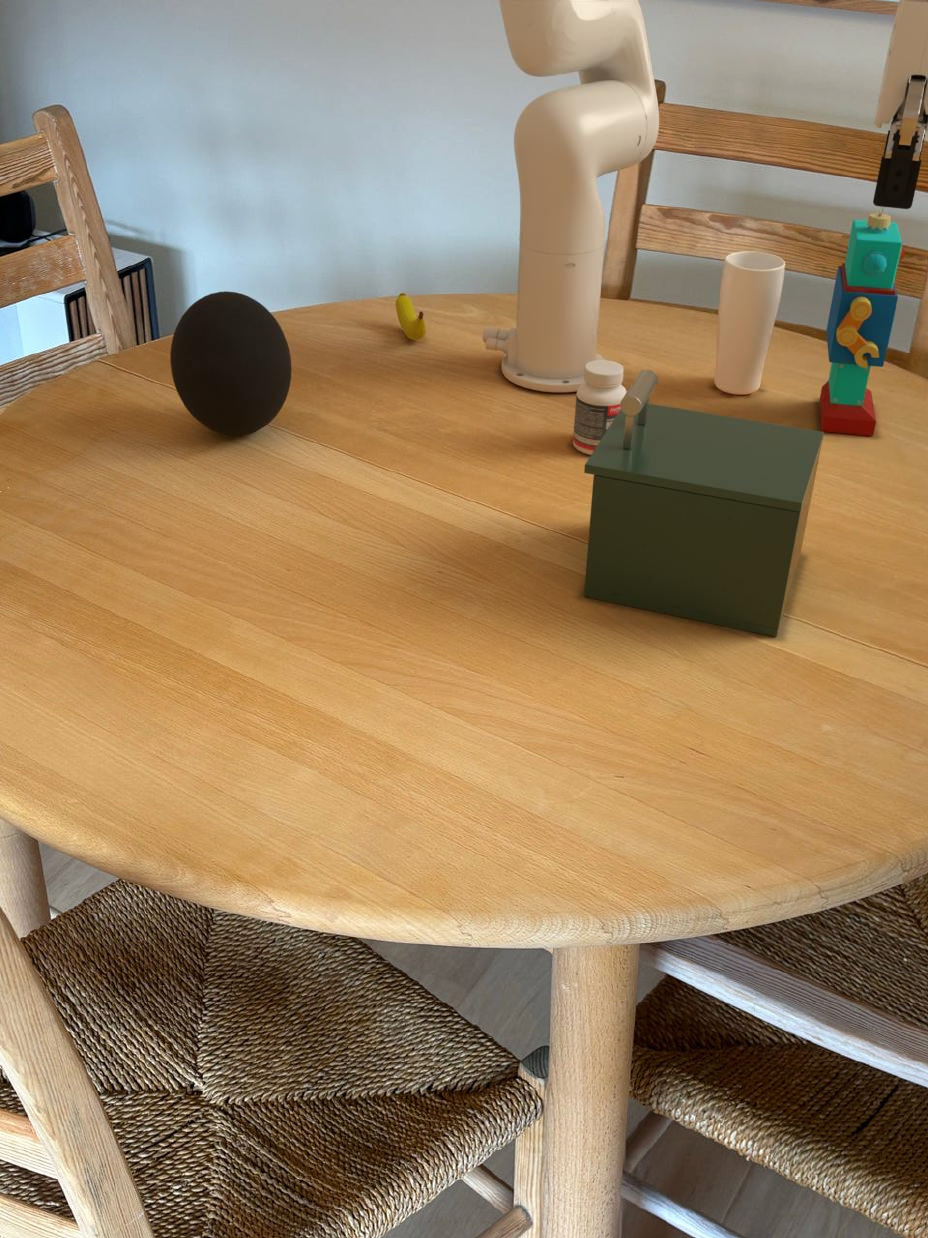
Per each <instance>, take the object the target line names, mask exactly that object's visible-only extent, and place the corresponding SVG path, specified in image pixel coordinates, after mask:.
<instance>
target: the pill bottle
mask: <svg viewBox="0 0 928 1238" xmlns="http://www.w3.org/2000/svg"><path fill="white" fill-rule="evenodd" d="M624 371H625V370H624V366H623V365H622V364H621V363H620V362H616V361H613V360H609V359H608V360H607V359H605V360H595V361H591V362H588V363H587V364H586V365H585V369H584V380H585V382H584V383H582V384H581V385H580V386H579V388H578V390H577V391H576V394H575V408H574V409H575V410H574V420H573V421H574V423H573V432H572V433H573V434H572V445H573V447H574V448H575V449H576V450H577V451H579V452H581V453H583V454H586V455H589V456H591V454H592V453H593V451H594V450H595V448H596V447H597V445H598V444H599V442H600V440H601V439H602V437H603V436H604V434H605V433H606V431H607V430H608V428H609V426H610V425H611V423H612V422H613V420H614V419H615V417H616V416H617V414H618V412H619V411H620V409H621V408H620V403H621V400H622V399H623V397H624V396H625V394H626V393H627V391H628V390H627V389H626V388H625V387H624V385H623V384H622V383H623V382H624V381H623V380H624Z"/></svg>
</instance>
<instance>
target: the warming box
mask: <svg viewBox="0 0 928 1238" xmlns="http://www.w3.org/2000/svg"><path fill="white" fill-rule="evenodd" d="M822 445H823V442H822V443H821V447H820V450H819V453H818V456H817V460H816V463H815V466H814V469H813V473H812V476H811V479H810V482H809V486H808V489H807V492H806V496H805V499H804V502H803V505H802V509H801V512H797V511H792V510H786V509H781V508H775V507H770V506H764V505H759V504H753V503H748V502H742V501H737V500H731V499H726V498H720V497H715V496H709V495H703V494H698V493H692V492H687V491H681V490H676V489H670V488H665V487H659V486H654V485H648V484H643V483H637V482H632V481H626V480H621V479H615V478H610V477H604V476H599V475H593V479H592V480H593V481H592V490H591V491H592V492H591V504H590V516H589V528H588V540H587V541H588V542H587V553H586V565H585V577H584V589H583V597H584V598H589V599H594V600H597V601H598V600H599V601H603V602H607V603H608V602H609V603H613V604H617V605H622V606H627V607H632V608H636V609H642V610H644V611H645V610H646V611H650V612H656V613H660V614H666V615H669V616H675V617H680V618H683V619H687V620H688V619H689V620H692V621H693V620H694V621H698V622H703V623H708V624H713V625H717V626H722V627H727V628H732V629H736V630H742V631H745V632H751V633H756V634H761V635H765V636H769V637H773V638H774V637H775V638H777V637H778V634H779V631H780V627H781V625H782V621H783V618H784V617H783V616H784V614H785V610H786V606H787V603H788V599H789V597H790V596H789V595H790V593H791V590H792V587H793V586H792V585H793V584H794V583H793V582H794V579H795V576H796V572H797V568H798V565H799V562H800V559H801V554H802V547H803V544H804V543H803V542H804V538H805V532H806V529H807V528H806V527H807V523H808V516H809V512H810V506H811V501H812V497H813V491H814V485H815V480H816V477H817V472H818V471H817V470H818V465H819V461H820V455H821V451H822Z"/></svg>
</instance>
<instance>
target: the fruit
mask: <svg viewBox="0 0 928 1238" xmlns="http://www.w3.org/2000/svg"><path fill="white" fill-rule="evenodd" d="M395 311H396V315H397V319H398V322H399V325H400V327H401V330H402V331H403V333H404V335H405V337H406V338H408V339H409V340H411V341H418V340H422V339H423V338H424V337H425V336H426V333H427V326H426V322H425V320H424V311H419V313H418V316H416V312H415V310H414V306H413V302H412V299H411V298H410V297H409V296H408V295H407V294H406V293H404V292H401V293H399V295H398V296H397V298H396V300H395Z"/></svg>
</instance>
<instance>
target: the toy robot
mask: <svg viewBox="0 0 928 1238" xmlns="http://www.w3.org/2000/svg"><path fill="white" fill-rule="evenodd" d="M884 210H885V207H881V206H879V212H872V213H870V214H869V215H868V219H867V220H865V219H864V220H862V219H853V220H852V224H851V229H850V235H849V240H848V245H847V251H846V255H845V262H843V263H841V265H838V266H837V270H836V271H837V272H836V277H835V281H834V287H833V292H832V296H831V297H832V298H831V302H830V303H831V304H830V308H829V313H828V319H827V324H826V331H825V332H826V333H825V334H826V345H827V352H828V353H827V355H828V363H831V364H830V370H829V375H828V380H827V381H826V382H825V384H823V385H822V386H821V390H820V394H819V395H820V396H819V411H820V413H819V415H820V425H821V432H824V433H835V434H846V435H855V436H856V435H857V436H867V437H873V436H874V435H875V429H876V425H877V418H876V413H875V406H874V400H873V394H872V393H873V392H872V391H871V390H870V389H868V388H867V386H868V380H869V376H870V371H871V367H878V368H883V367H884V365H885V359H886V354H887V350H888V348H889V344H890V339H891V335H892V330H893V325H894V321H895V315H896V311H897V304H898V299H899V295H898V292H897V287H896V283H895V280H896V278H897V274H898V273H897V272H898V265H899V263H900V262H901V261H903V260H904V258H905V255H906V249H905V247H904V246H903V240H902V237H901V234H900V229H899V227H898V224H897V222H895V221H894V222H893V221H891V220H892V218H891V215H889V214H888V213H884Z"/></svg>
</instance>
